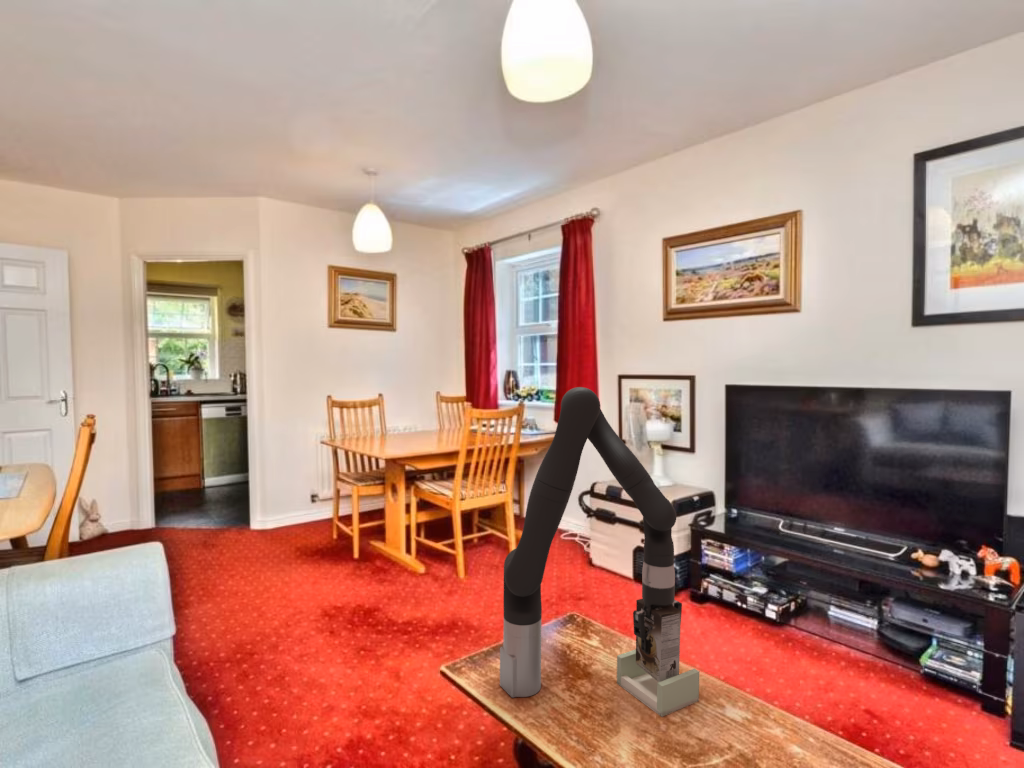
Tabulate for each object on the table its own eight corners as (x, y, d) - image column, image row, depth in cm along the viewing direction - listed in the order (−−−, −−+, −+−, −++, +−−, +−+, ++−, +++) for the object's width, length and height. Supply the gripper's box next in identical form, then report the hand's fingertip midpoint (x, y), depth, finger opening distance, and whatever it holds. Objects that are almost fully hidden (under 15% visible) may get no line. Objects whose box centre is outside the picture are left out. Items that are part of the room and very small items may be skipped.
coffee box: (634, 664, 136) (635, 599, 135) (655, 658, 138) (656, 594, 138) (658, 683, 127) (659, 614, 127) (680, 677, 130) (681, 609, 130)
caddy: (661, 717, 124) (662, 686, 123) (616, 683, 136) (617, 655, 136) (698, 700, 130) (699, 671, 129) (652, 670, 143) (652, 643, 142)
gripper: (647, 592, 125) (646, 664, 126) (691, 580, 133) (690, 648, 133) (624, 581, 132) (624, 649, 132) (668, 570, 139) (667, 635, 140)
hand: (657, 648), depth 133 cm, fingers closed on coffee box, 6 cm apart
